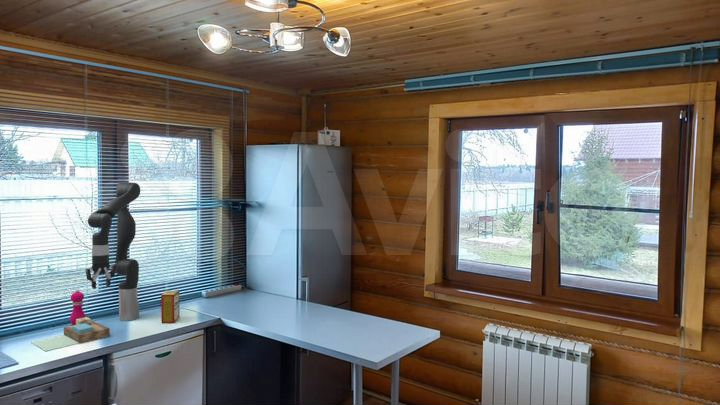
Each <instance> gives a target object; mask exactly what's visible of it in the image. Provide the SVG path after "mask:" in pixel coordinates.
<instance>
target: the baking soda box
mask: <svg viewBox="0 0 720 405" xmlns="http://www.w3.org/2000/svg"><path fill="white" fill-rule="evenodd" d="M160 297H161V298H160V299H161V300H160V302H161V303H160V304H161V305H160V308H161V314H160V315H161V316H160V319H161V320H160V321H161V325H162V324H163V325H164V324H169V325H170V324H175V323H176V322H177V321H178V320H180V315H181V314H180V290H166V291H165V292H164V293H162V294H161V296H160Z"/></svg>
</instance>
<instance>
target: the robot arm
mask: <svg viewBox="0 0 720 405" xmlns="http://www.w3.org/2000/svg"><path fill="white" fill-rule="evenodd" d="M115 193H116V197H115V198H112V199H111V200H110V201H108V202H107V203H106V204H104V206H102V207H101V208H99V209H98V210H95V211H93V212H92V213H91V214H90V215H89V216H88V218H87V224H88V226H89V227H91V228H93V229H96V228H97V229H100V231H99V232H94V233H93V234H92V236H91V238H92V240H91V241H92V244H91V245H92V247H91V267H88V268H85V269H84V270H85V277H86V280H87V281H90V282H91V288H92V289H93V290H95V289H97V281H96V280H97V278H98V276H99V275H104V276H105V286H106V287H110V286H111V280H112V278H114V277H115V275H118V276H125V280H124V281H122V282H119V283H118V308H119V309H118V318H119V319H118V320H119V321H121V322H128V321H133V320H136V319H139V318H140V300H138V284H139V272H140V267H139V266H140V265H139V262H138V260H137V259H134V258H128V251H129V248H130V246H131V244H132V243H133V241H134V239H135V237H136V235H137V234H136V233H137V232H136V231H137V229H136V221H135V219H134V216H133V215H132V214H131V212H130V211H129V208H128V205H129V204H130V203H132V202H134V201H135V200H136V199H138V198H139V196H140V195H141V187H140V185H139V183H137V182H129V181H128V182H125V181H123V182H118V183H117V185H116V188H115ZM116 215H117V218H116V221H117V222H116V223H117V225H116V252H115V253H116V255H115V262H114V264H110V246H109V235H110V231H111V227H112V223H113V218H114V217H115V216H116ZM109 269H110V272H109ZM92 272H93V273H92ZM91 273H92V274H91Z"/></svg>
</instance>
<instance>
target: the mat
mask: <svg viewBox="0 0 720 405" xmlns="http://www.w3.org/2000/svg"><path fill="white" fill-rule="evenodd" d="M31 344H33V345H35V346H36V347H38V348H39V349H40V350H42V351H44V352H50V351H53V350H57V349H62V348H66V347H70V346H74V345H79V344H80V343H78V342H76V341H75V340H73V339H71V338H69V337H67V336H65V335H64V334H62V335H57V336H53V337H48V338H43V339H38V340H34V341H31Z"/></svg>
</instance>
